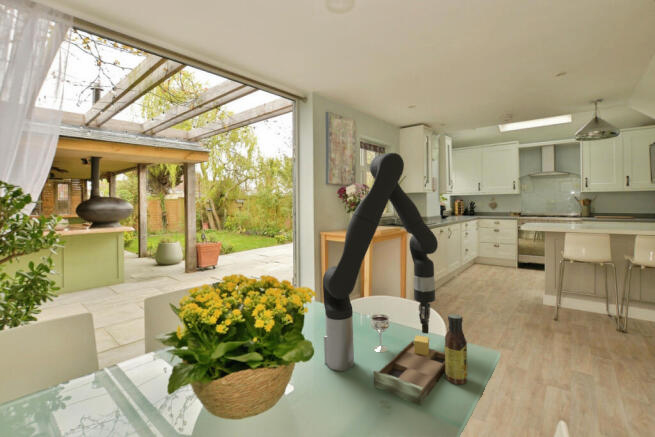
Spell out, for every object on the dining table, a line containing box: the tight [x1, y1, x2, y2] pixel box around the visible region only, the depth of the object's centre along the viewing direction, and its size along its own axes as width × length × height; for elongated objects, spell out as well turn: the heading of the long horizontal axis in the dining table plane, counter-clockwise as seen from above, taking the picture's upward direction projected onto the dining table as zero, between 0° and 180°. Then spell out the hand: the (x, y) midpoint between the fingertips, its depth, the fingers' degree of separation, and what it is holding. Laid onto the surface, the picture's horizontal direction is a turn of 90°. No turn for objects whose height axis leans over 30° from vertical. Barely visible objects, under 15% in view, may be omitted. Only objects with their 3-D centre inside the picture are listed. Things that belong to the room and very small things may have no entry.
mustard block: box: [413, 334, 430, 356], centre depth 107 cm, size 4×4×4 cm
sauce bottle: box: [444, 313, 468, 385], centre depth 93 cm, size 7×6×20 cm
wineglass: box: [370, 313, 390, 353], centre depth 113 cm, size 7×7×12 cm
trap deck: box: [372, 340, 445, 406], centre depth 98 cm, size 14×28×4 cm, turn 141°
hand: (425, 332), depth 114 cm, fingers closed
